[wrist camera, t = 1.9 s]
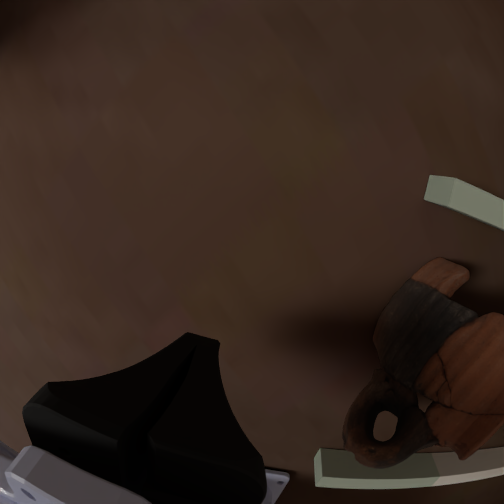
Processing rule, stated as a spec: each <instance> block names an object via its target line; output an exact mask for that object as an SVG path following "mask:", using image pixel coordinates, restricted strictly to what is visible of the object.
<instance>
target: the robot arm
mask: <svg viewBox="0 0 504 504" xmlns="http://www.w3.org/2000/svg"><path fill="white" fill-rule="evenodd" d="M219 347H220V343H219V341H218V340H215V339H211V338H207V337H203V336H200V335H196V334H193V333H189V332H187V333H185V334H184V335H182V336H181V337H180V338H178V339H177V340H175V341H174V342H173V343H171V344H170V345H168V346H167V347H165V348H164V349H162V350H160V351H159V352H157V353H156V354H154V355H152V356H150V357H149V358H147V359H145V360H143V361H141V362H139V363H137V364H135V365H133V366H130V367H128V368H125V369H123V370H120V371H117V372H113V373H110V374H106V375H103V376H99V377H94V378H89V379H83V380H75V381H61V382H48V383H46V384H45V385H44V386H43V387H42V388H41V389H40V390H39V391H38V392H37V393H36V394H35V395H34V396H33V397H32V398H31V399H30V400H29V401H28V403H27V404H26V405H25V406H24V407H23V411H22V414H23V419H24V423H25V426H26V429H27V431H28V434H29V437H30V439H31V442H32V446H27V447H24V448H23V449H22V450H21V452H20V453H18V452H16V451H15V450H13V449H12V448H10V447H9V446H7V445H6V444H4V443H3V442H2V441H0V504H274V503H275V502H276V500H277V499H278V497H279V496H280V494H281V492H282V491H283V489H284V488H285V486H286V485H287V483H288V481H289V479H290V475H289V474H288V473H286V472H280V471H274V470H268V469H265V467H264V463H263V458H262V456H261V455H260V453H259V452H258V451H257V450H256V449H255V447H254V446H253V445H252V444H251V442H250V441H249V440H248V438H247V437H246V435H245V434H244V432H243V431H242V429H241V427H240V425H239V423H238V422H237V420H236V418H235V416H234V414H233V412H232V410H231V408H230V405H229V403H228V400H227V397H226V394H225V391H224V388H223V384H222V380H221V375H220V368H219V358H218V352H219Z"/></svg>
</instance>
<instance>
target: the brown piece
mask: <svg viewBox="0 0 504 504" xmlns="http://www.w3.org/2000/svg"><path fill="white" fill-rule="evenodd" d="M469 278H470V273H469V270H468V269H466V268H465V267H463V266H461V265H458V264H455V263H453V262H451V261H448V260H446V259H444V258H442V257H437V258H436V259H434V260H431V261H429V262H428V263H427V264H426V265H424V266H423V267H421V268H420V269H419V270H418V271H417V272H416V273H415V274H414V275H413V276H412V277H411V278H410V279H409V280H407V281H406V282H405V284H404V285H403V286H402V287H401V288H400V290H399V291H398V292H397V293H395V294H394V295H393V297H392V298H391V300H390V302H389V303H388V305H387V306H386V307H385V308H384V310H383V312H382V314H381V315H380V317H379V319H378V323H377V325H376V328H375V330H374V334H373V342H374V344H375V347H376V350H377V352H378V357H379V360H380V362H381V368H382V369H375V371H374V374H373V377H372V380H371V381H370V382H369V384H368V385H367V386H366V387H365V388H364V389H363V390H362V391H361V393H360V394H359V395H358V397H357V398H356V399H355V401H354V402H353V404H352V405H351V407H350V408H349V411H348V413H347V415H346V418H345V421H344V425H343V432H342V436H343V440H344V449H346V450H347V451H348V452H352V453H353V454H354V455H355V460H356V461H358V462H359V463H360V464H362V465H364V466H366V467H370V468H375V469H384V468H389V467H392V466H394V465H397V464H399V463H401V462H403V461H404V460H406V459H407V458H409V457H410V456H411V455H413V454H414V453H415V452H417V451H419V450H421V449H424V448H428V447H432V446H433V445H434V444H435V446H439V447H451V448H452V449H453V450H454V452H455V453H456V454H457V455H458V458H459V460H466V459H467V458H468V457H470V456H471V455H472V454H474V453H475V452H476V451H477V450H478V449H479V448H480V447H481V446H482V445H484V444H485V442H486V441H488V439H489V438H491V437H492V436H493V435H494V434H495V433H496V432H497V430H498V429H499V428H500V427H501V426H502V425H503V424H504V315H502V314H500V313H496V312H491V313H488V314H485V315H483V316H481V317H478V314H477V313H476V312H474V311H473V310H471V309H469V308H467V307H465V306H462V305H460V304H459V303H457V302H455V301H452V300H450V298H451V296H452V295H453V294H454V292H455V291H457V290H458V288H459V287H461V286H462V285H463V284H464V283H465V282H467V281H468V280H469ZM416 392H418V393H420V394H422V395H424V396H425V397H427V398H429V399H430V400H433V402H432V403H431V404H430V405H429V406H428V408H427V410H426V412H425V413H424V412H423V411H422V410H421V409H419V406H418V398H417V394H416ZM382 411H389V412H391V413H393V414H394V415H395V416H397V417H398V422H397V426H396V431H395V434H394V435H393V437H392V438H391V439H389V440H387V441H384V442H382V441H378V440H376V439H375V438H374V436H373V428H374V423H375V420H376V417H377V415H378V414H379V413H380V412H382Z"/></svg>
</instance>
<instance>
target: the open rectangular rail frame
mask: <svg viewBox="0 0 504 504" xmlns="http://www.w3.org/2000/svg"><path fill="white" fill-rule="evenodd" d="M424 200H426V201H429V202H432V203H435V204H437V205H440V206H443V207H445V208H448V209H451V210H453V211H456V212H458V213H461V214H463V215H466V216H468V217H471V218H473V219H476V220H478V221H481V222H483V223H486V224H488V225H490V226H493V227H495V228H497V229H500V230H502V231H504V200H502V199H500V198H498V197H496V196H494V195H492V194H490V193H488V192H486V191H483V190H481V189H479V188H477V187H475V186H472V185H470V184H468V183H466V182H463V181H461V180H459V179H456V178H452V177H443V176H434V175H430V177H429V181H428V185H427V189H426V193H425V197H424ZM314 468H315V486H316V487H328V488H346V489H399V488H417V487H429V486H439V485H447V484H455V483H462V482H468V481H474V480H480V479H485V478H490V477H495V476H499V475H504V447H498V448H490V449H482V450H477V451H476V452H475V453H474V454H472V455H471V456H470V457H468V458H467V459H466V460H459V458H458V455H457V454H456V453H455V452H444V453H414V454H413V455H411V456H410V457H409V458H407V459H406V460H404V461H403V462H401V463H399V464H397V465H394V466H392V467H389V468H384V469H375V468H370V467H366V466H364V465H362V464H360V463H359V462H358V461H356V460H355V455H354V454H353V453H352V452H348V451H345V450H335V449H325V448H320V449H319V451H318V453H317V454H316V456H315V457H314Z"/></svg>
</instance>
